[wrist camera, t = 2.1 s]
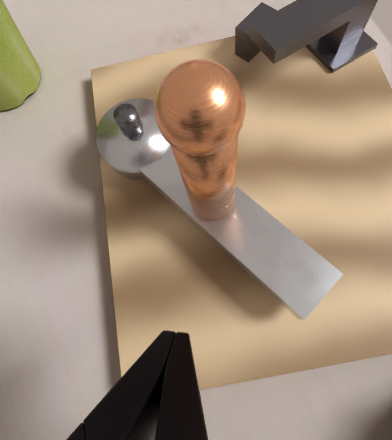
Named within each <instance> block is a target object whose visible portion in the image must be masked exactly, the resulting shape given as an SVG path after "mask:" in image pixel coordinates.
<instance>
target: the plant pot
mask: <svg viewBox="0 0 392 440" xmlns="http://www.w3.org/2000/svg"><path fill="white" fill-rule="evenodd" d="M40 79H41V73H40V68H39V66H38V64H37V62H36V60H35V59H34V57H33V55H32V53H31V51H30V50H29V48H28V46H27V44H26V42H25V41H24V39H23V37H22V35H21V33H20V32H19V30H18V28H17V26H16V24H15V22H14V21H13V19H12V17H11V15H10V13H9V11H8V10H7V8H6V6H5V4H4V2H3V0H0V111H3V110H9V109H12V108H15V107H17V106H19V105H21V104H23V102H24V100H25V99H26V97H27V96H28V95H30V94H32V93H34V92H35V91H36V90H37V88H38V86H39V83H40Z"/></svg>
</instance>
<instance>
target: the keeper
mask: <svg viewBox="0 0 392 440" xmlns="http://www.w3.org/2000/svg"><path fill="white" fill-rule="evenodd" d="M377 1H378V0H296V1H294V2H293V3H291V4H289V5H287V6H285V7H284V8H282V9H280V10H278V11H277V10H275V9H273V8H272V7H270V6H268V5H266V4H264V3H262V2H261V3H260V4H259V5H258V6H257V7H256V8H255V9H254V10H253V11H252V12H251V13H250V14H249V15H248V16H247V17H246V18H245V19H244V20H243V21H242V22H241V23H240V24H239V25H238V26H237V27H236V29H235V55H237V56H238V57H240V58H242V59H243V60H245V61H247V62H248V63H249V62H250V61H251V60H252V59H253V58H254V57H255V56H256V55H257V54H258V53H259V52H260V51H262V52H263V53H264V54H265V55H266V56H267V58H268V59H269V60H270V61H271V62H272V63H273V64H275V63H277V62H279V61H280V60H282V59H284V58H286V57H287V56H289V55H291V54H293V53H294V52H296V51H298V50H300V49H301V48H303V47H305V46H306V47H307V48H308V49H309V50H310V51H311V52H312V53H313V54H314V55H315V56H316V57H317V58H318V59H319V60H320V61H321V62H322V63H323V64H324V66H325V67H326V68H327V69H328V70H329V71H330V72H331V73H334V72H335V71H337V70H339V69H341V68H342V67H344V66H346V65H347V64H349V63H351V62H353V61H354V60H356V59H358V58H359V57H361V56H363V55H365V54H366V53H368V52H370V51H371V50H373V49H375V48H376V46H377V43H376V42H375V41H374V40H373V39H372V38H371V37H370V36H369V35H368V34H366V33H365V32H364V31H363V30H364V28H365V26H366V24H367V22H368V20H369V18H370V15H371V13H372V11H373V9H374V7H375V5H376V3H377Z"/></svg>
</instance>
